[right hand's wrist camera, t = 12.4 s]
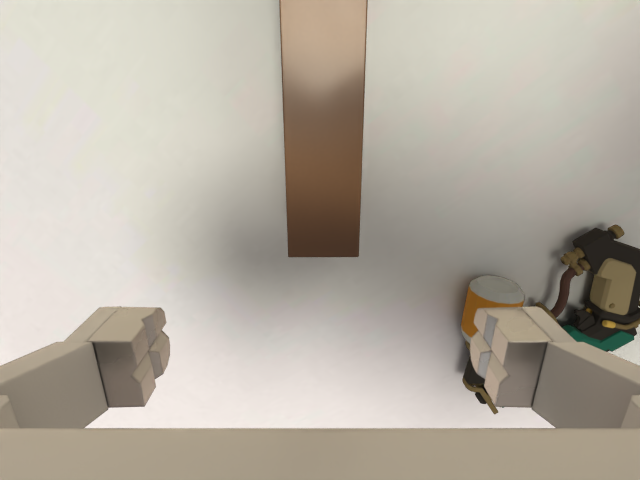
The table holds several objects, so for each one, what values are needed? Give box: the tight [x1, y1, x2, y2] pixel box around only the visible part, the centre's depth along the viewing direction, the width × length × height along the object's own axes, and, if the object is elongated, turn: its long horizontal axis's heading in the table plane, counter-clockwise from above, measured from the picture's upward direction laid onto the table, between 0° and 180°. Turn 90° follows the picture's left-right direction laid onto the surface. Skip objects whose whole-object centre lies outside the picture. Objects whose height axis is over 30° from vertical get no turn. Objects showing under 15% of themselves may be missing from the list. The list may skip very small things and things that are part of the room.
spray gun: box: [461, 225, 640, 414], centre depth 33 cm, size 4×17×15 cm
